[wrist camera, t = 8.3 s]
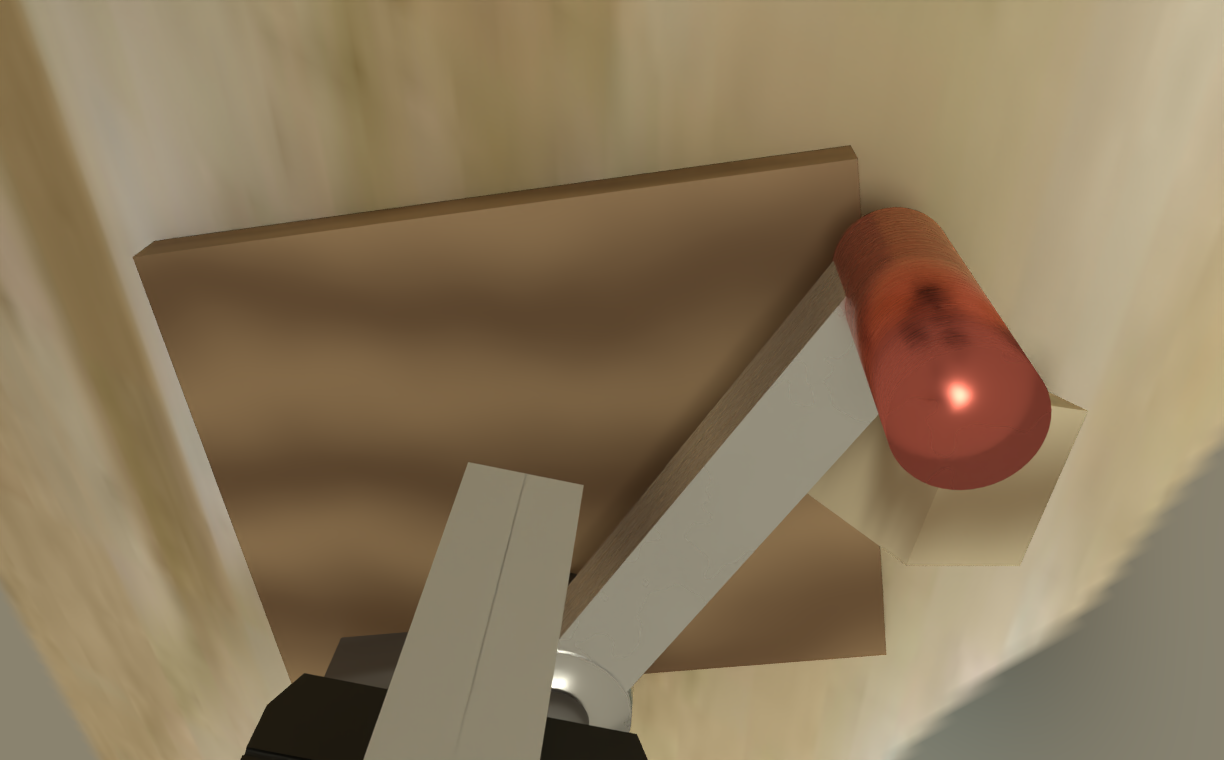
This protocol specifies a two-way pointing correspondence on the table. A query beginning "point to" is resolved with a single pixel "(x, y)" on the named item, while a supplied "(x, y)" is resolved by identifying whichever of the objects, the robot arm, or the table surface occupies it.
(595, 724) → the lever
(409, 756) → the robot arm
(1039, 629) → the table surface
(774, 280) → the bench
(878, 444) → the block
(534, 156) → the table surface
